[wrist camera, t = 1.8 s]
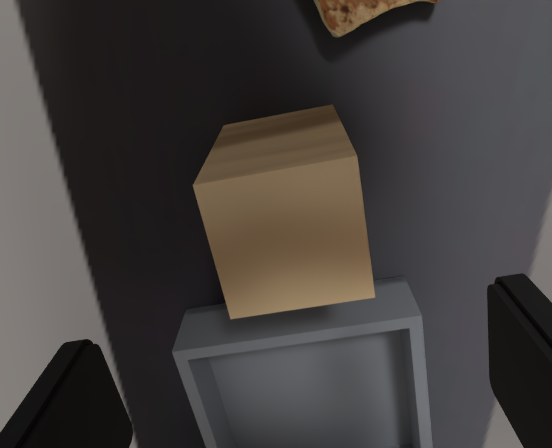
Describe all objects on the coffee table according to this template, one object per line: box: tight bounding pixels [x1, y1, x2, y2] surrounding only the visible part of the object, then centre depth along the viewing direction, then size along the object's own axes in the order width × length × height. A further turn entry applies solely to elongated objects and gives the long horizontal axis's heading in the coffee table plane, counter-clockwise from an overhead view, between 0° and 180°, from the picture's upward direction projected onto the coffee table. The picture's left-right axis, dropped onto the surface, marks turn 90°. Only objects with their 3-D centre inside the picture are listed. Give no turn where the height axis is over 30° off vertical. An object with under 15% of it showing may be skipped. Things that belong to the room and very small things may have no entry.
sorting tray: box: [172, 276, 432, 448], centre depth 26 cm, size 12×12×4 cm
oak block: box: [193, 104, 375, 319], centre depth 19 cm, size 5×5×8 cm
